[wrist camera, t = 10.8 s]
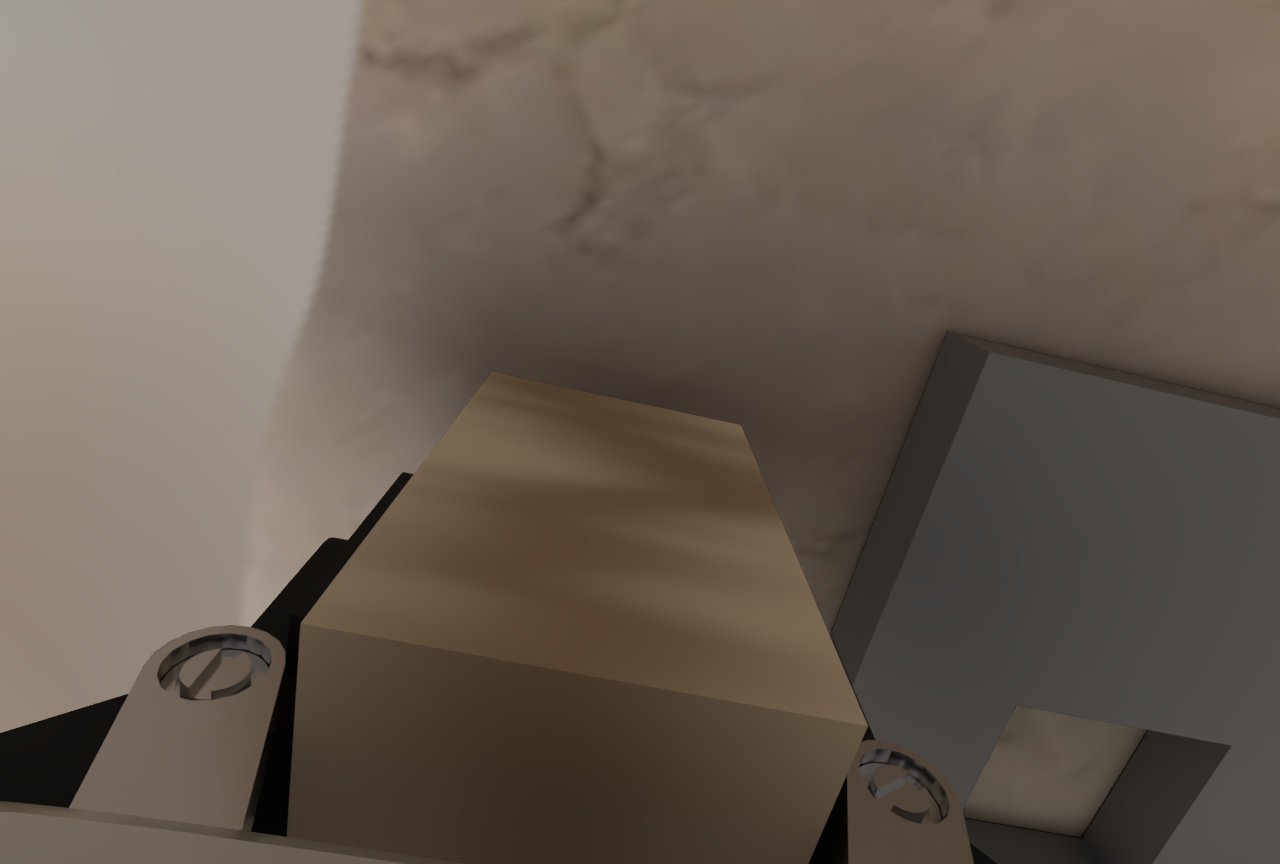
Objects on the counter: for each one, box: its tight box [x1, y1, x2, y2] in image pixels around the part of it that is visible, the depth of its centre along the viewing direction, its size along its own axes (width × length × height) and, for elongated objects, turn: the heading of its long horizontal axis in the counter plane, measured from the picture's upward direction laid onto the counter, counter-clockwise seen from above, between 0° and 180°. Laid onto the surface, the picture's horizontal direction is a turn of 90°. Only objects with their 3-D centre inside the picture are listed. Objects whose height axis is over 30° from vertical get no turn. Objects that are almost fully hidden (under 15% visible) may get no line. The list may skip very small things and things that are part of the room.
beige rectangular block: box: [287, 372, 868, 864], centre depth 10 cm, size 5×5×8 cm
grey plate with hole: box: [830, 331, 1280, 864], centre depth 19 cm, size 14×22×2 cm, turn 167°
